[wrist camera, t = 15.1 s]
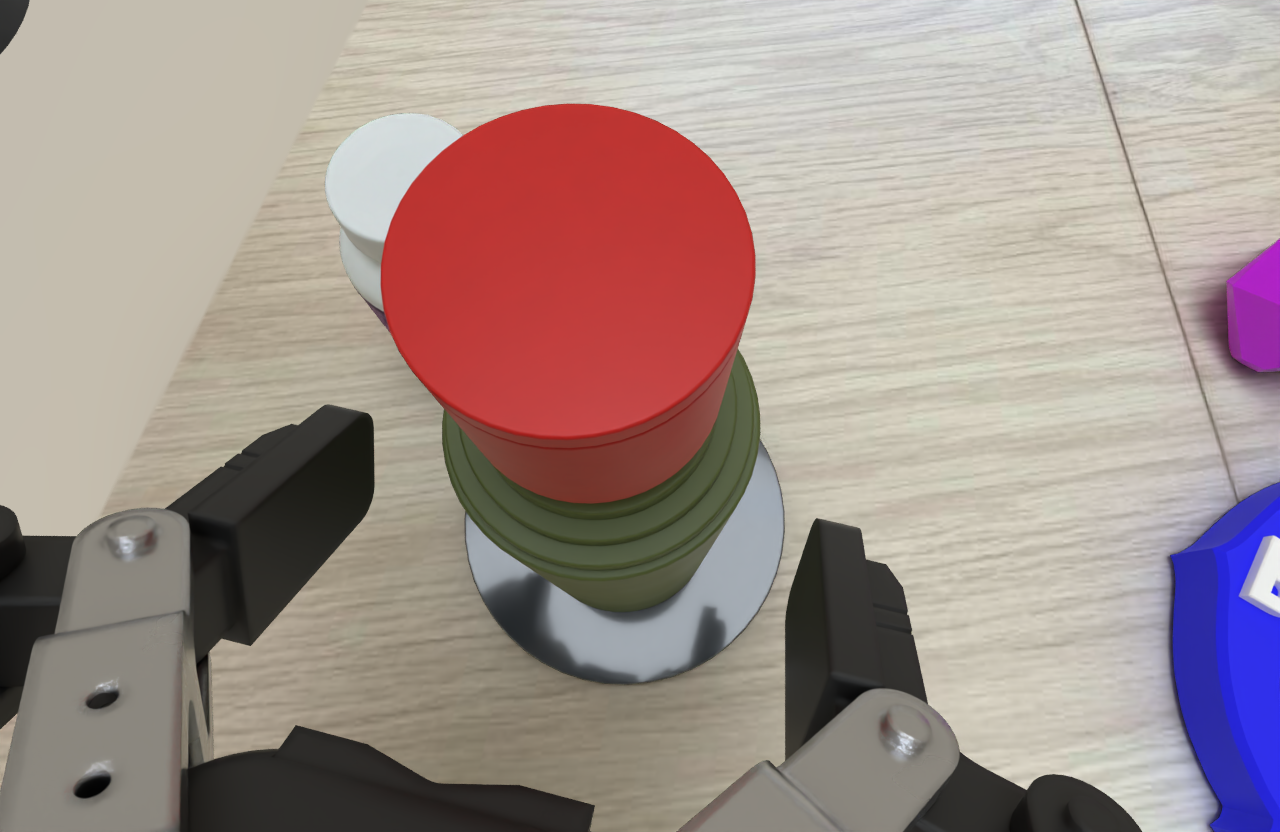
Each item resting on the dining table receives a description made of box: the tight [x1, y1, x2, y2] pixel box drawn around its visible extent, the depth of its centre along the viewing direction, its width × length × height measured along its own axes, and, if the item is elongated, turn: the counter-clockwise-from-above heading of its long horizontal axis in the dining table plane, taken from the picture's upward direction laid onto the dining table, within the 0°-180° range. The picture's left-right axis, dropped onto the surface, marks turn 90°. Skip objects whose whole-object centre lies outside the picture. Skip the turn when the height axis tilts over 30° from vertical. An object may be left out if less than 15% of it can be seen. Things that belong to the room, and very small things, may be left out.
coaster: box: [465, 440, 785, 685], centre depth 26 cm, size 11×11×1 cm
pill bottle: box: [325, 113, 463, 332], centre depth 24 cm, size 5×5×10 cm
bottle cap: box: [380, 104, 755, 504], centre depth 10 cm, size 4×4×4 cm
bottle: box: [442, 349, 760, 612], centre depth 17 cm, size 6×6×18 cm
